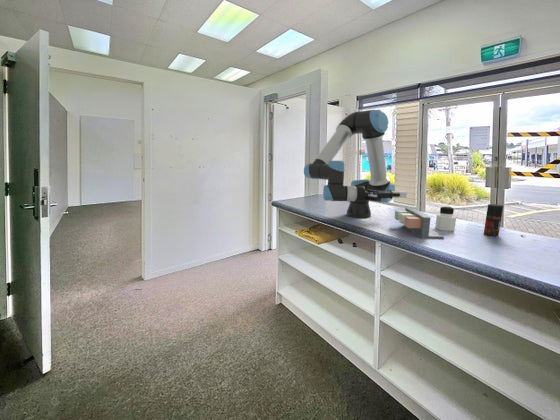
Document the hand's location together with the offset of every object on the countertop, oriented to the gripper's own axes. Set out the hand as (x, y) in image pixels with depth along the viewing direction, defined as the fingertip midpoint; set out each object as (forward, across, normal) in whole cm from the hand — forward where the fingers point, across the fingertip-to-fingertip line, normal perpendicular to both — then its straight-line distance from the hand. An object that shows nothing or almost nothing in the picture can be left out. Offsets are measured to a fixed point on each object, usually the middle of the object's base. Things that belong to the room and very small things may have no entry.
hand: (406, 194), depth 136 cm
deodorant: (+44, -5, -20) cm, 49 cm away
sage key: (+6, -16, -16) cm, 23 cm away
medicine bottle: (+26, -14, -20) cm, 36 cm away
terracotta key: (+6, 0, -16) cm, 17 cm away
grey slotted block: (+13, -8, -20) cm, 25 cm away
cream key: (+6, -8, -16) cm, 19 cm away
